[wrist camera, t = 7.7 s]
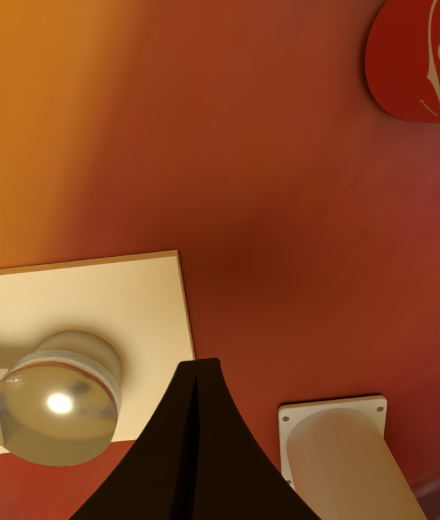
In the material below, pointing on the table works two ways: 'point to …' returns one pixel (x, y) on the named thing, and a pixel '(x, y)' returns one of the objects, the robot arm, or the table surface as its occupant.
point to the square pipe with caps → (58, 408)
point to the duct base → (103, 322)
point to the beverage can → (406, 59)
